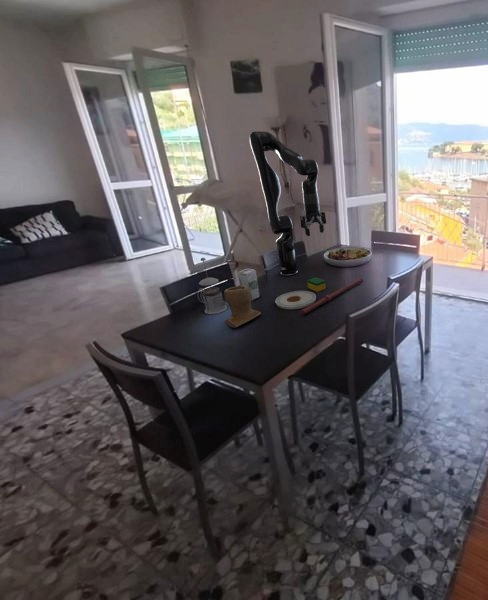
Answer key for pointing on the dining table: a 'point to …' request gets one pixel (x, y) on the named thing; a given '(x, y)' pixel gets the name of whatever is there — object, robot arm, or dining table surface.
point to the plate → (295, 300)
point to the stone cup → (239, 306)
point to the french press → (218, 299)
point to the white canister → (250, 282)
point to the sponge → (316, 284)
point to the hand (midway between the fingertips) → (315, 234)
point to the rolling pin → (330, 296)
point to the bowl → (347, 256)
